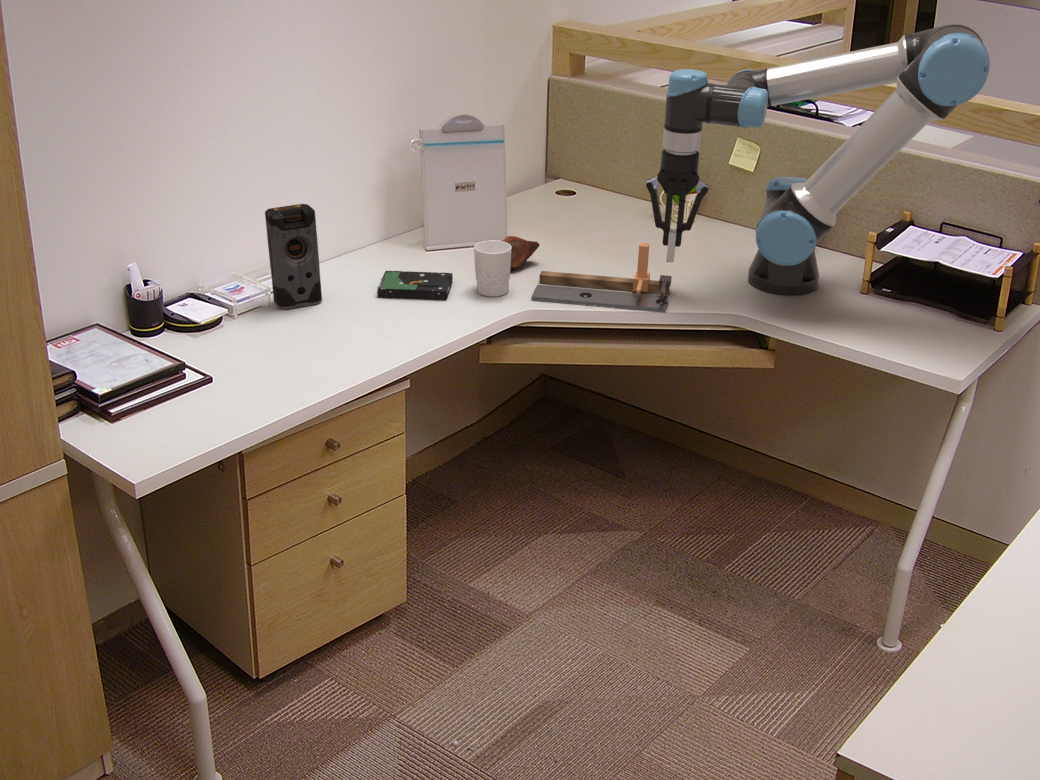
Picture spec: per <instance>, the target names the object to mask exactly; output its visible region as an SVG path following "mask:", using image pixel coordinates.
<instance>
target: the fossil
mask: <svg viewBox="0 0 1040 780" xmlns="http://www.w3.org/2000/svg"><path fill="white" fill-rule="evenodd" d="M501 241H503V242H506V243H508V244H510V245H511V247H512V249H511V267H510V269H517V268H519V267H520V266H522V265H523V264H524V263H526V262H527V261H528V260H529V259H530V258H531V257H532V256H533V254H534V253H535V252H536V251H537V250H538V248H539V247H540V243H539V242H538V241H536V240H535V241H532V240H526V239H524V238H521V237H520V236H519V237H518V236H515V235H508V236H506V237H505V238H504V239H501Z"/></svg>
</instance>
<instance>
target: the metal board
mask: <svg viewBox="0 0 1040 780" xmlns="http://www.w3.org/2000/svg"><path fill="white" fill-rule="evenodd" d="M530 297H531V299H530V300H531V301H533V300H534V301H535V302H536V301H537V302H547V303H559V304H566V305H567V304H569V305H578V304H585V305H584V306H589V305H596V306H595V307H600V306H605V307H604V308H611V307H614V308H613V309H626V310H634V311H635V310H636V311H645V312H646V311H647V312H655V313H656V312H658V313H666V310H667V305H668V304H669V295H664V300H660V294H651V293H640V298H636V292H628V291H617V290H605V289H602V290H601V289H594V288H582V287H571V286H560V285H548V284H536V286H535V288H534V290H533V293H532V295H531V296H530Z"/></svg>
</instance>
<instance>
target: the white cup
mask: <svg viewBox="0 0 1040 780" xmlns="http://www.w3.org/2000/svg"><path fill="white" fill-rule="evenodd" d="M511 249H512V247H511V245H510V244H508V243H506V242H503V241H502V240H493V239H492V240H482V241H479V242H477V243H475V245H474V246H473V252H474V253H473V255H474V270H475V271H474V272H475V280H476V291H477V293H478V294H479V295H482V296H484V297H488V298H489V297H492V298H493V297H496V298H497V297H500V296H504V295H507V294H508V293H509V290H510V289H509V287H510V278H511V277H510V276H511V268H510V267H511Z"/></svg>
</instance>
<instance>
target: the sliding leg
mask: <svg viewBox="0 0 1040 780" xmlns="http://www.w3.org/2000/svg"><path fill="white" fill-rule="evenodd" d="M649 252H650V243H649V242H648V243H647V242H639V245H638V257H637V269H636V270H637V271H635V273H634V276H633V279H634V280H633V291H636V292H635V293H636V298H640V294H641V293H644V292H648V285H649V280H651V272H648V270H649V269H648V268H649V254H650V253H649ZM641 291H643V292H641Z"/></svg>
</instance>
